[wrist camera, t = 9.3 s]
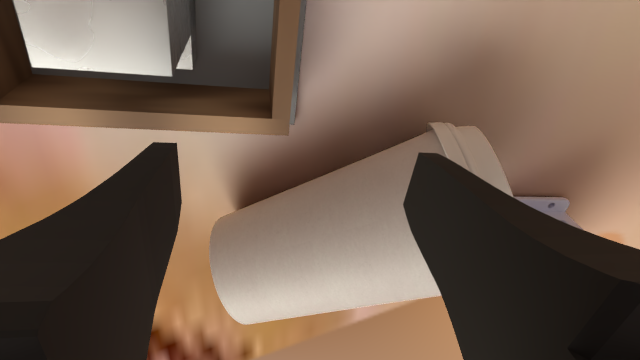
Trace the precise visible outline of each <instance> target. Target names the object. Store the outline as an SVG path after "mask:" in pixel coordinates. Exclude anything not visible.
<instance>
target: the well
mask: <svg viewBox="0 0 640 360" xmlns="http://www.w3.org/2000/svg"><path fill="white" fill-rule="evenodd" d="M300 4H301V0H274V9H273V27H272V44H271V61H270V79H269V89H254V88H239V87H224V86H208V85H193V84H178V83H162V82H147V81H132V80H116V79H101V78H86V77H71V76H55V75H40V74H32V71H31V67H30V63H29V60H28V56H27V53H26V49H25V46H24V42H23V38H22V35H21V31H20V28H19V24H18V21H17V17H16V13H15V10H14V6H13V3H12V0H0V123H14V124H37V125H60V126H83V127H106V128H128V129H151V130H174V131H197V132H220V133H243V134H266V135H288V134H289V123H290V112H291V101H292V90H293V80H294V69H295V58H296V47H297V36H298V25H299V15H300Z"/></svg>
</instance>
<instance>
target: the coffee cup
mask: <svg viewBox="0 0 640 360" xmlns="http://www.w3.org/2000/svg"><path fill="white" fill-rule="evenodd" d="M419 152H422V153H438V154H440V155H442V156H444V157H446V158H448V159H450V160H452V161H453V162H455V163H457V164H458V165H460V166H462V167H463V168H465V169H467V170H468V171H470V172H471V173H473V174H475V175H476V176H478V177H480V178H481V179H483V180H484V181H486V182H488V183H489V184H491V185H493V186H494V187H496V188H498V189H499V190H501V191H503V192H505V193H506V194H508V195H510V196H512V197H513V194H512V191H511V188H510V186H509V183H508V180H507V178H506V175H505V173H504V171H503V168H502V166H501V164H500V162H499V160H498V158H497V156H496V154H495V152H494V150H493V148H492V146H491V145H490V143H489V141H488V140H487V138H486V137H485V136H484V134H483V133H482V132H481V131H480V130H479V129H478V128H477V127H475V126H458V127H455V126H454V125H453V124H451V123H442V122H433V123H428V124H427V132H426V133H424V134H422V135H419V136H417V137H415V138H412V139H410V140H407V141H405V142H403V143H400V144H398V145H396V146H393V147H391V148H388V149H386V150H384V151H381V152H379V153H376V154H374V155H372V156H369V157H367V158H364V159H362V160H360V161H357V162H355V163H352V164H350V165H347V166H345V167H343V168H340V169H338V170H335V171H333V172H330V173H328V174H326V175H323V176H321V177H318V178H316V179H313V180H311V181H308V182H306V183H304V184H301V185H299V186H296V187H294V188H291V189H289V190H286V191H284V192H282V193H279V194H277V195H274V196H272V197H269V198H267V199H264V200H262V201H259V202H257V203H255V204H252V205H250V206H247V207H245V208H242V209H240V210H237V211H235V212H233V213H230V214H228V215H225V216H223V217H221V218H219V219H218V220H217V222H216V223H215V225H214V227H213V229H212V232H211V237H210V245H209V257H210V266H211V272H212V277H213V281H214V284H215V287H216V290H217V293H218V295H219V298H220V300H221V302H222V304H223V306H224V307H225V309H226V310H227V312H228V313H229V314H230V316H231V317H232V318H233V319H235V320H236V321H237V322H239V323H241V324H254V323H260V322H267V321H274V320H280V319H287V318H293V317H300V316H307V315H313V314H320V313H327V312H333V311H340V310H347V309H353V308H360V307H367V306H373V305H380V304H387V303H394V302H400V301H407V300H414V299H421V298H428V297H435V296H442V295H441V293H440V291H439V288H438V286H437V284H436V282H435V280H434V278H433V276H432V274H431V272H430V270H429V268H428V266H427V264H426V262H425V260H424V258H423V256H422V254H421V251H420V249H419V247H418V245H417V243H416V241H415V239H414V237H413V234H412V232H411V230H410V227H409V224H408V221H407V217H406V214H405V210H404V207H403V203H404V199H405V196H406V193H407V189H408V186H409V183H410V180H411V176H412V173H413V170H414V166H415V163H416V160H417V156H418V153H419Z"/></svg>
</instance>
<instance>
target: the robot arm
mask: <svg viewBox="0 0 640 360" xmlns="http://www.w3.org/2000/svg"><path fill="white" fill-rule="evenodd" d="M181 203H182V200H181V188H180V176H179V164H178V152H177V143H159V142H153V143H152V144H151V145H149V146H148V147H147V148H146V149H145V150H143V151H142V152H141V153H140V154H139V155H137V156H136V157H135V158H134V159H133V160H131V161H130V162H129V163H128V164H126V165H125V166H124V167H123V168H121V169H120V170H119V171H118V172H116V173H115V174H114V175H113V176H111V177H110V178H108V179H107V180H106V181H104V182H103V183H101V184H100V185H99V186H97V187H96V188H94V189H93V190H91V191H90V192H89V193H87V194H86V195H84V196H83V197H81V198H80V199H78V200H76V201H75V202H73V203H71V204H70V205H68V206H66V207H65V208H63V209H61V210H59V211H58V212H56V213H54V214H52V215H50V216H49V217H47V218H45V219H43V220H41V221H39V222H37V223H34V224H32V225H30V226H28V227H26V228H24V229H22V230H20V231H18V232H16V233H13V234H11V235H9V236H7V237H5V238H3V239H0V360H146V359H147V353H148V346H149V341H150V335H151V329H152V324H153V318H154V313H155V308H156V304H157V300H158V296H159V293H160V289H161V286H162V283H163V279H164V276H165V272H166V269H167V266H168V262H169V259H170V255H171V252H172V249H173V245H174V242H175V238H176V235H177V231H178V224H179V218H180V210H181ZM569 204H570V201H569V200H567V199H566V198H564V197H512V196H510V195H508V194H506V193H505V192H503V191H501V190H499V189H498V188H496V187H494V186H493V185H491V184H489V183H488V182H486V181H484V180H483V179H481V178H480V177H478V176H476V175H475V174H473V173H471V172H470V171H468V170H467V169H465V168H463V167H462V166H460V165H458V164H457V163H455V162H453V161H452V160H450V159H448V158H446V157H444V156H442V155H440V154H438V153H422V152H419V153H418V156H417V160H416V163H415V166H414V170H413V173H412V176H411V180H410V183H409V186H408V189H407V193H406V196H405V199H404V203H403V207H404V210H405V214H406V217H407V221H408V224H409V227H410V230H411V232H412V234H413V237H414V239H415V241H416V243H417V245H418V247H419V249H420V251H421V254H422V256H423V258H424V260H425V262H426V264H427V266H428V268H429V270H430V272H431V274H432V276H433V278H434V280H435V282H436V284H437V286H438V288H439V291H440V293H441V295H442V298H443V300H444V302H445V305H446V308H447V311H448V314H449V317H450V319H451V322H452V325H453V328H454V331H455V334H456V337H457V340H458V343H459V347H460V350H461V353H462V356H463V359H464V360H640V250H639V249H636V248H633V247H630V246H627V245H623V244H620V243H617V242H614V241H611V240H608V239H605V238H603V237H600V236H597V235H595V234H592V233H589V232H587V231H584V230H583V229H582V228H581V227H580V226H579V225H578V224H577V223H576V222H575V221H574V220H573V219H572V218H571V217H570V216H569V215H568V214H567V213H566V212H565V211H566V210H567V208H568V206H569Z"/></svg>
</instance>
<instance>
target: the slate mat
mask: <svg viewBox="0 0 640 360" xmlns="http://www.w3.org/2000/svg"><path fill="white" fill-rule="evenodd" d="M12 3H13V6H14V10H15V13H16V17H17V21H18V24H19V28H20V31H21V35H22V38H23V42H24V46H25V49H26V53H27V56H28V60H29V63H30V67H31V71H32V74H40V75H55V76H71V77H86V78H101V79H116V80H132V81H147V82H162V83H178V84H193V85H208V86H224V87H239V88H254V89H269V79H270V61H271V44H272V27H273V9H274V0H195V13H196V35H197V58H196V61H195V64H194V67H193V70H190V69H175V71H174V74H173V76H172V77H171V76H156V75H142V74H127V73H112V72H98V71H83V70H69V69H54V68H39V67H32V65H31V62H30V58H29V54H28V51H27V47H26V44H25V40H24V36H23V33H22V29H21V26H20V22H19V18H18V15H17V11H16V8H15V4H14V1H13V0H12ZM305 10H306V0H301V4H300V15H299V25H298V36H297V47H296V58H295V69H294V80H293V90H292V101H291V112H290V123H289V124H291V125H294V121H295V111H296V101H297V91H298V81H299V71H300V61H301V51H302V40H303V30H304V20H305Z"/></svg>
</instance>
